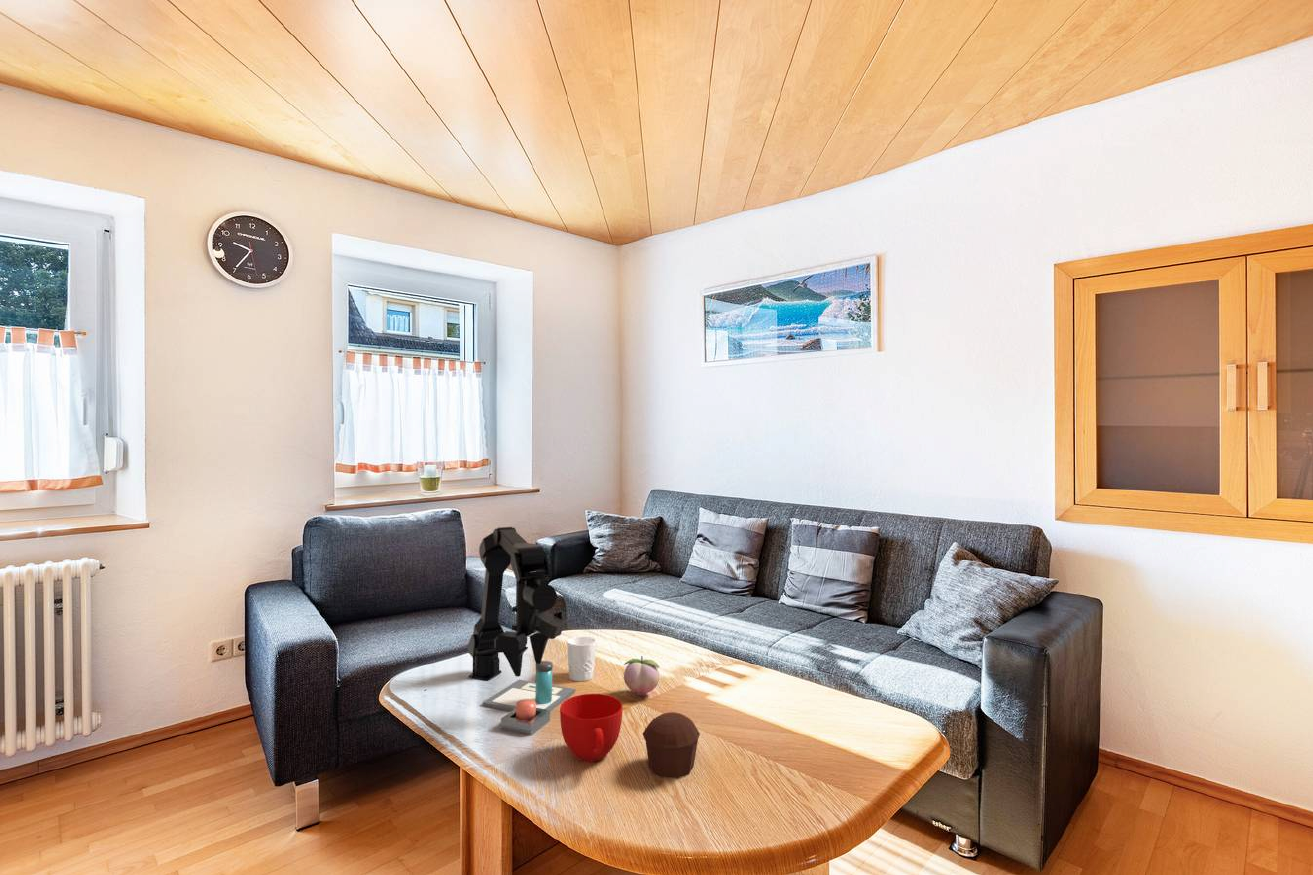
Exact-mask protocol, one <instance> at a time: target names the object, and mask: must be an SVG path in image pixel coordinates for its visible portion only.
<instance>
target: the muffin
mask: <svg viewBox="0 0 1313 875" xmlns="http://www.w3.org/2000/svg"><path fill="white" fill-rule="evenodd" d="M700 736H701V733H700V732H699V730H698V727H696V724H695V722H693V720H692V719H691V718H689V717H688V716H686V715H685V714H682V713H680V712H671V711H670V712H664V713H662V714H660V715H658V716H656V717H654V718H653V719H652V720H650V722H649V723H648V725H647V726H646V727H645V728H644V730H643V733H642V737H643V739H644V740H645V746H646V754H647V761H648V766H649V768H650V769H651V773H652V774H654V775H658V776H660V777H661V778H664V779H665V778H673V779H679V778H682V777H684V776H687V775H690V773H691V771H692V770H693V768H694V766H695V762H696V761H695V759H696V754H697V750H698V749H697V748H698V743H699V737H700Z"/></svg>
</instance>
